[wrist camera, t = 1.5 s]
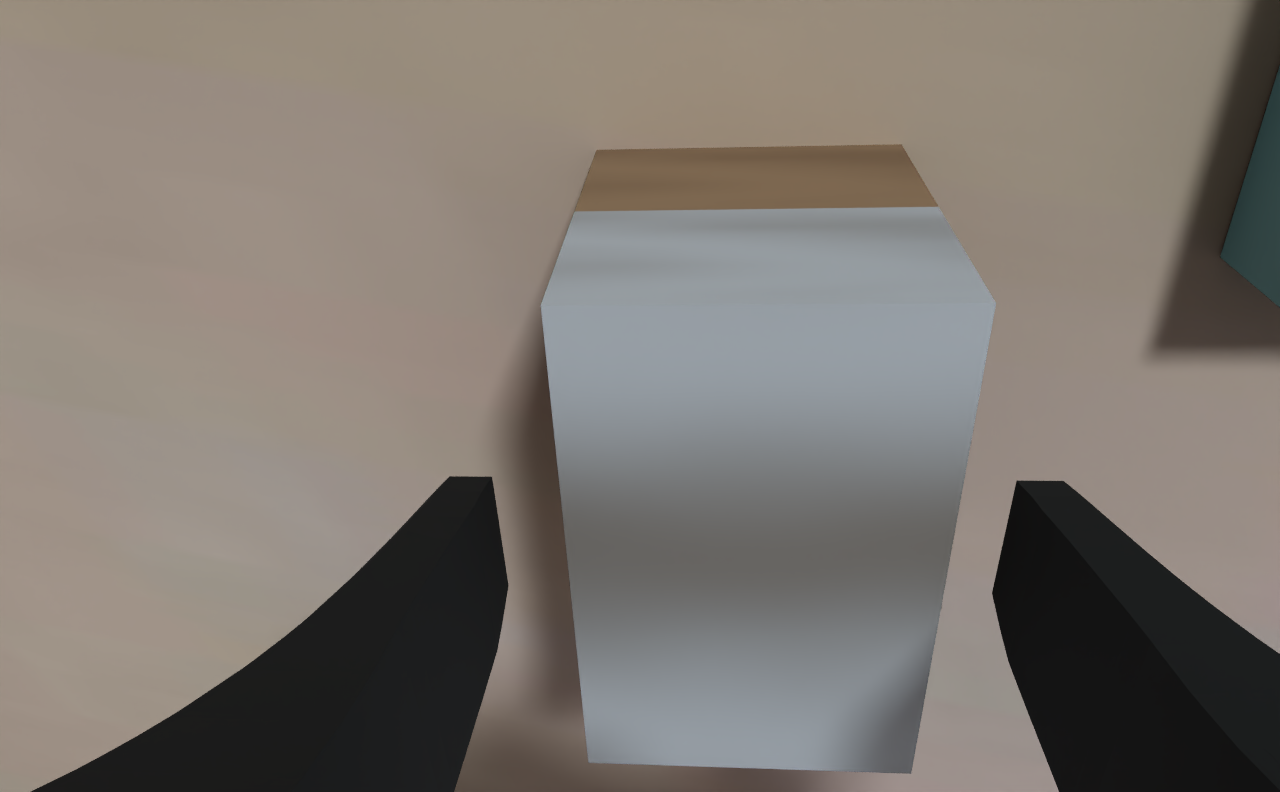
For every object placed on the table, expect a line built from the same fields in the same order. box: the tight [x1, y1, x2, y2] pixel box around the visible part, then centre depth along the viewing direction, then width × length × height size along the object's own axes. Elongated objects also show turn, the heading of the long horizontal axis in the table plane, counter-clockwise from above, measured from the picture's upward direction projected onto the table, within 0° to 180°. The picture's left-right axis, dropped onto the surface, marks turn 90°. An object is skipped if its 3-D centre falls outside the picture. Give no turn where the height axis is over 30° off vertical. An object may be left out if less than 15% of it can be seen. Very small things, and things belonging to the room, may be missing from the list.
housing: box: [541, 145, 996, 774], centre depth 15 cm, size 8×5×6 cm, turn 2°
